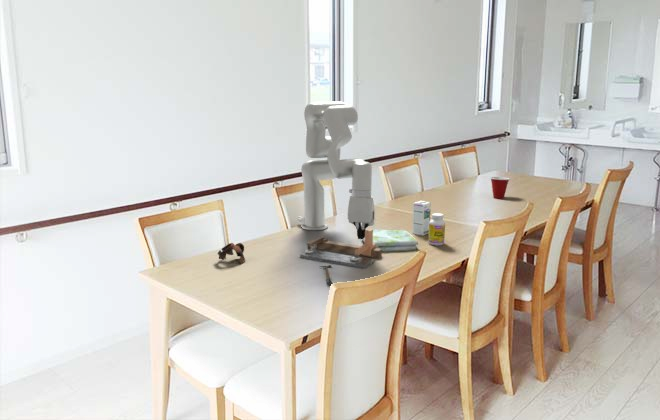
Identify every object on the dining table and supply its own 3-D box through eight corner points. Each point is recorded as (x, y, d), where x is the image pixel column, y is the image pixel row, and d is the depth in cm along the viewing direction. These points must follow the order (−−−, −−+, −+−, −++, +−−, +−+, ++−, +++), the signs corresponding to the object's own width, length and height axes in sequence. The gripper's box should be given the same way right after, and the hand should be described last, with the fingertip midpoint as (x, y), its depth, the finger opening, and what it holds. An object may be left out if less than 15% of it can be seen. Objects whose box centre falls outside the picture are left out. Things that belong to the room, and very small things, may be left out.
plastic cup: (510, 197, 335) (512, 176, 332) (505, 200, 326) (506, 179, 323) (492, 195, 341) (493, 175, 338) (486, 198, 332) (487, 177, 329)
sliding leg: (351, 260, 222) (351, 237, 220) (366, 250, 234) (367, 228, 232) (360, 262, 220) (361, 238, 218) (376, 252, 233) (376, 229, 230)
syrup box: (423, 235, 258) (424, 204, 255) (412, 233, 262) (413, 202, 259) (430, 233, 262) (431, 202, 259) (419, 230, 266) (420, 200, 263)
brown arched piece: (239, 267, 219) (227, 250, 217) (222, 274, 224) (210, 257, 222) (254, 251, 229) (243, 234, 227) (238, 258, 234) (226, 241, 232)
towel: (419, 250, 239) (419, 238, 237) (368, 253, 235) (369, 241, 234) (406, 238, 256) (407, 227, 255) (359, 240, 253) (359, 229, 252)
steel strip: (299, 257, 229) (299, 252, 228) (309, 252, 236) (309, 246, 235) (364, 268, 216) (364, 262, 216) (372, 262, 223) (373, 256, 223)
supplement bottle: (432, 246, 243) (433, 216, 240) (425, 242, 249) (426, 213, 246) (447, 245, 245) (448, 215, 241) (440, 240, 251) (441, 212, 248)
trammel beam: (304, 255, 232) (303, 243, 231) (320, 246, 244) (320, 234, 242) (367, 265, 219) (368, 253, 218) (382, 255, 231) (382, 243, 230)
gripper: (340, 193, 227) (340, 238, 231) (375, 197, 220) (374, 243, 225) (348, 189, 234) (348, 233, 238) (383, 193, 227) (382, 238, 231)
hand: (361, 238), depth 231 cm, fingers closed
